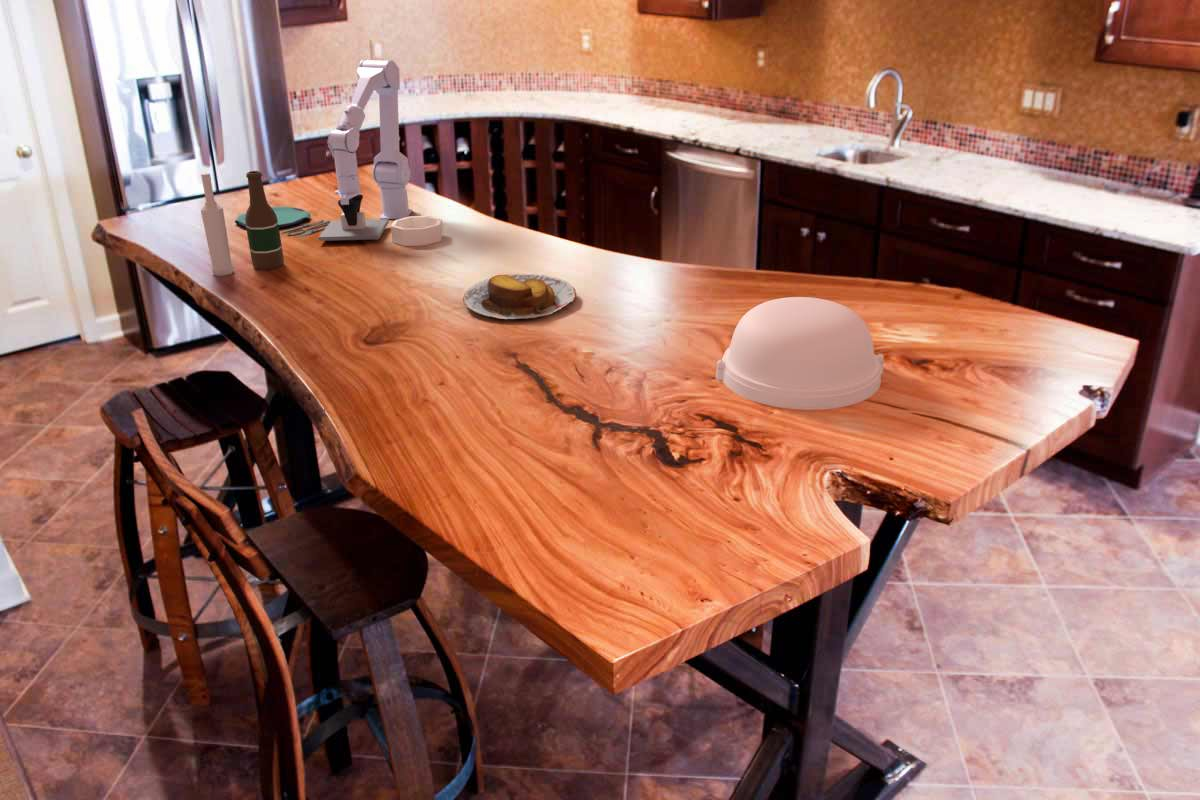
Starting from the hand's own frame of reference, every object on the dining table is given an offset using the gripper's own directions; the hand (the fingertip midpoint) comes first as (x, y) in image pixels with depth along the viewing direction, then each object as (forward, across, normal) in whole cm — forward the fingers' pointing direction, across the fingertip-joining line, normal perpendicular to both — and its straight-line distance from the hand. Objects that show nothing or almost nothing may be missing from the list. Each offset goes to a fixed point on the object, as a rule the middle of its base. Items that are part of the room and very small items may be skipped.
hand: (353, 223), depth 290 cm
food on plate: (+4, +57, +49) cm, 75 cm away
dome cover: (+4, +101, +105) cm, 145 cm away
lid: (+2, 0, 0) cm, 2 cm away
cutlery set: (+4, -14, -23) cm, 27 cm away
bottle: (+3, +30, -27) cm, 41 cm away
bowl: (+3, +4, +18) cm, 19 cm away
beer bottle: (+4, +25, -17) cm, 31 cm away
